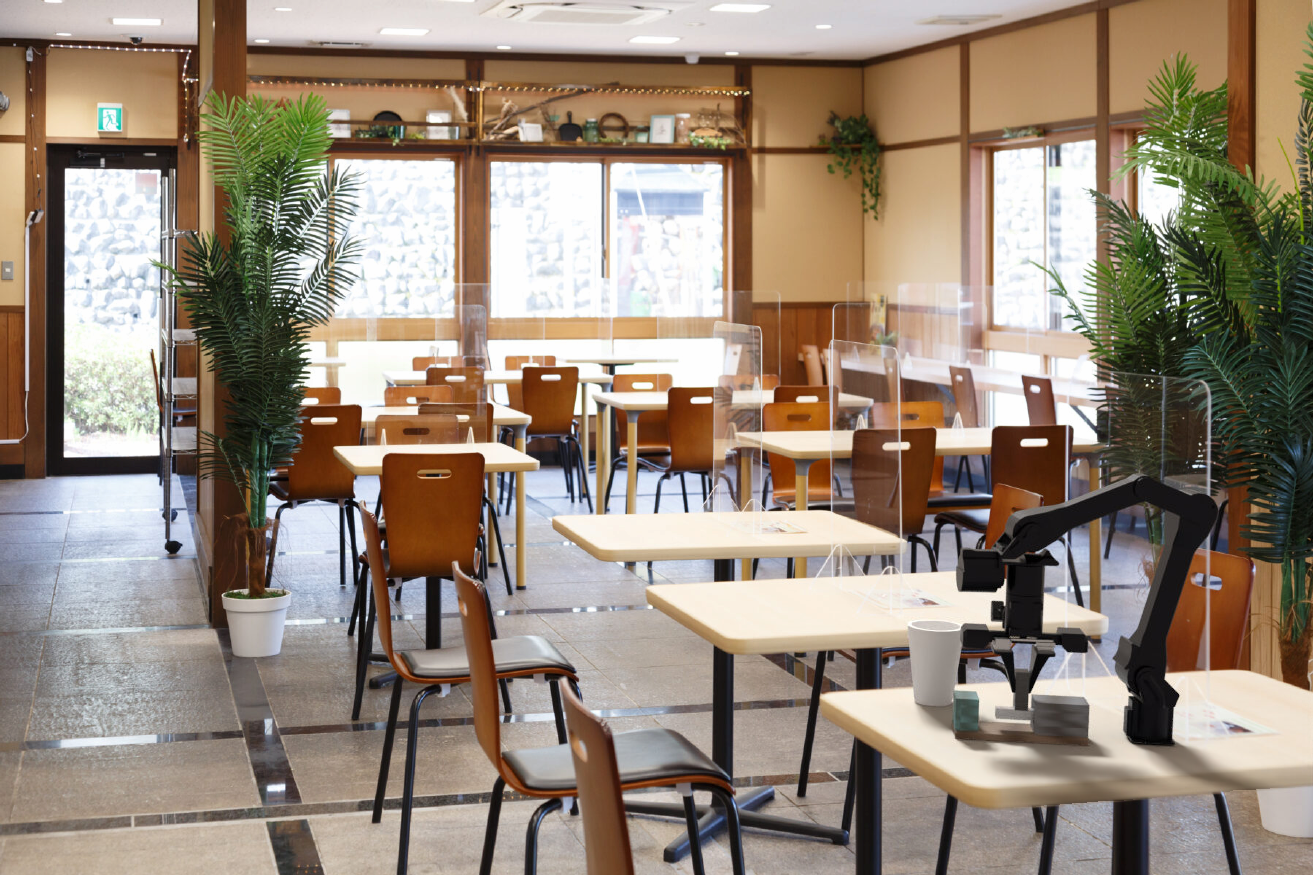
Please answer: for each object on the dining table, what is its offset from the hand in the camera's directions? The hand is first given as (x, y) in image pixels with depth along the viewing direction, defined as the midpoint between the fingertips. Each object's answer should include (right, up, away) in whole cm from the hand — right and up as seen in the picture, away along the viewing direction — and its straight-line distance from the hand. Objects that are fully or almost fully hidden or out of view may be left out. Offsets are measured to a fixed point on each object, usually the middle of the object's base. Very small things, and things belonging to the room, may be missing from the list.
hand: (1020, 692), depth 222 cm
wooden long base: (0, -7, +1) cm, 7 cm away
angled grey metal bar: (+3, -4, 0) cm, 5 cm away
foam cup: (-10, -5, +20) cm, 23 cm away
